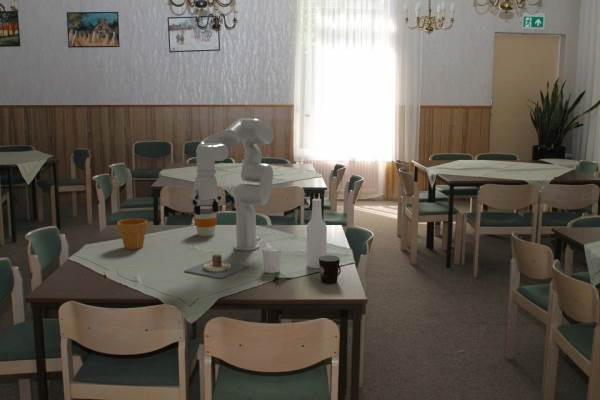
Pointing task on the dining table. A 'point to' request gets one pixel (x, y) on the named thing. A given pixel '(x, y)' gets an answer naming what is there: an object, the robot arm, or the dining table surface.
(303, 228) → the dining table surface
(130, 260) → the dining table surface
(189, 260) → the dining table surface
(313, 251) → the alcohol
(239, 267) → the mat
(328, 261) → the coffee mug
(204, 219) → the reusable coffee cup
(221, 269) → the lid
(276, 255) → the white cup
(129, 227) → the flower pot
